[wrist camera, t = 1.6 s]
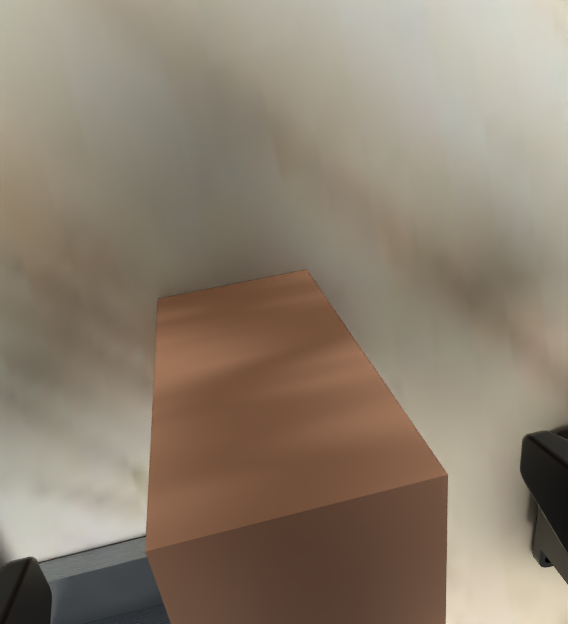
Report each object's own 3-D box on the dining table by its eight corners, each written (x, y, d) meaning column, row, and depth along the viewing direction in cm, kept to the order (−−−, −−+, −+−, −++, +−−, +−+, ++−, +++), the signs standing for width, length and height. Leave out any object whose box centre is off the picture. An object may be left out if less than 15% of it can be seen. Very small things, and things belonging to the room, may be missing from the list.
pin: (306, 269, 14) (448, 474, 7) (320, 391, 16) (444, 655, 9) (157, 298, 14) (144, 550, 6) (189, 421, 15) (207, 725, 8)
